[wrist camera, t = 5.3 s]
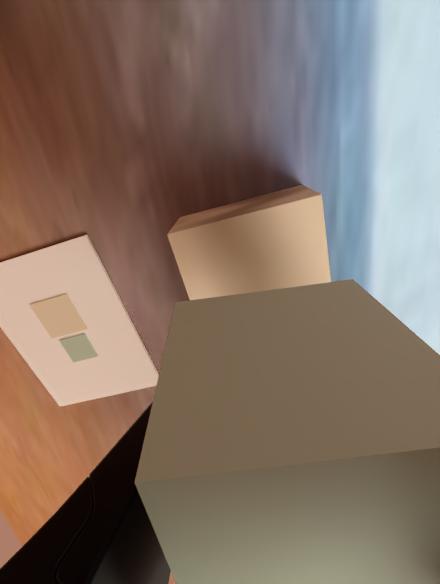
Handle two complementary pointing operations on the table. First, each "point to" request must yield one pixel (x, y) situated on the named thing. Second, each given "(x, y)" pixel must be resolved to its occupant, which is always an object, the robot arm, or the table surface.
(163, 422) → the sage cube
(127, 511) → the robot arm
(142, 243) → the table surface
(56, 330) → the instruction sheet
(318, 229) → the birch base block
